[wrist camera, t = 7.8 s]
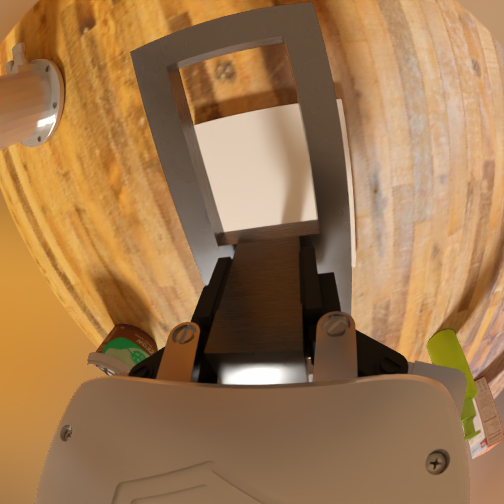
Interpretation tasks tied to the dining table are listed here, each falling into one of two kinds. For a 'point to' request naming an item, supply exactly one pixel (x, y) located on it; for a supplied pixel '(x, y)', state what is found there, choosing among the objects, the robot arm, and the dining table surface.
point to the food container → (122, 349)
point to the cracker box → (485, 420)
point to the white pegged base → (264, 168)
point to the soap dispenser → (451, 355)
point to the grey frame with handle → (260, 238)
